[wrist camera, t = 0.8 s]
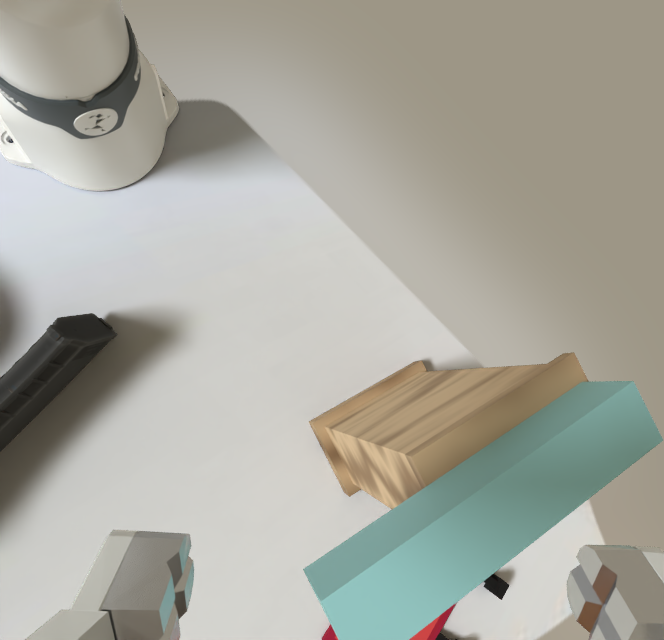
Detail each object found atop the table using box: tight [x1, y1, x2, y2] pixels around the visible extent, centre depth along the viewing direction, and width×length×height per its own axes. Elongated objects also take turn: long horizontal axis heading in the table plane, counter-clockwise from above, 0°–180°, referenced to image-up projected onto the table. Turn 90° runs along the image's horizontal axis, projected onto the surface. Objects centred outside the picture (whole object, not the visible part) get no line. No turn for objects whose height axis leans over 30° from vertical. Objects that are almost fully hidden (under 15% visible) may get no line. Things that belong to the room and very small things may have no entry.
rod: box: [303, 381, 663, 640], centre depth 27 cm, size 4×22×4 cm, turn 118°
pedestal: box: [309, 353, 589, 509], centre depth 42 cm, size 9×15×26 cm, turn 118°
